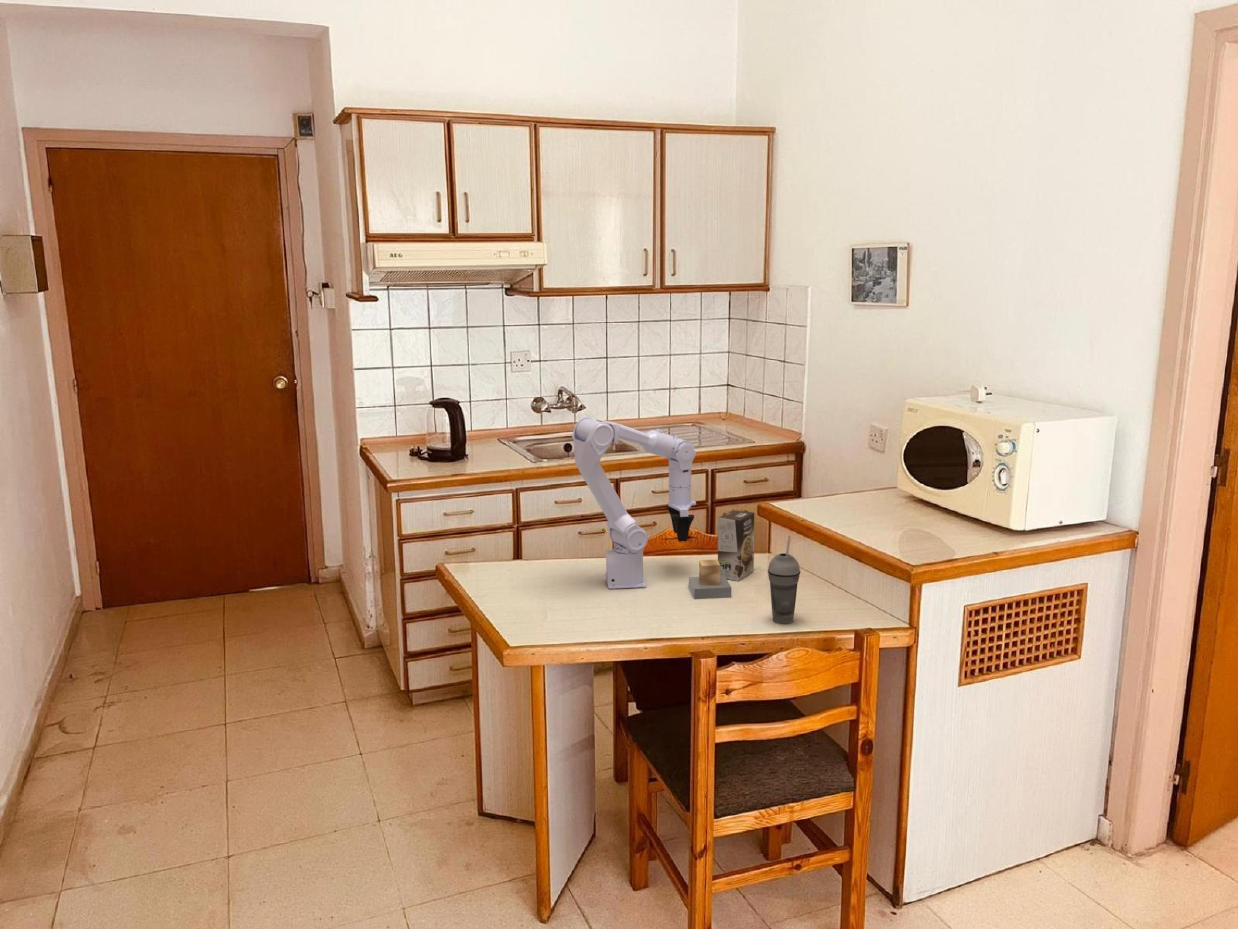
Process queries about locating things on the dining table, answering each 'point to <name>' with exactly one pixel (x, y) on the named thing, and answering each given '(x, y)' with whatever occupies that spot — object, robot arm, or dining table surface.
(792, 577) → the beverage cup
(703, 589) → the slate base
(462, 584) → the dining table surface
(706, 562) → the oak block
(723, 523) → the coffee box
